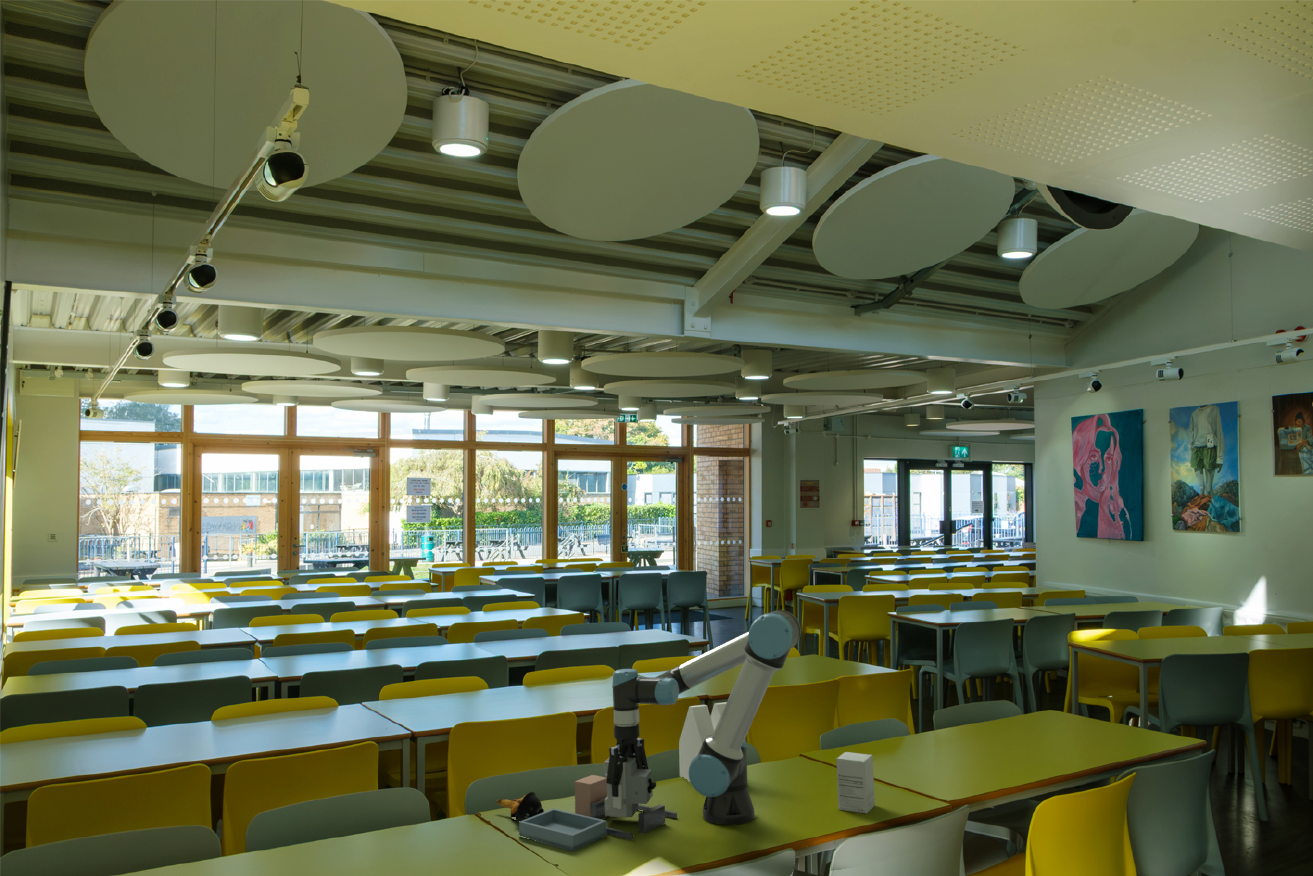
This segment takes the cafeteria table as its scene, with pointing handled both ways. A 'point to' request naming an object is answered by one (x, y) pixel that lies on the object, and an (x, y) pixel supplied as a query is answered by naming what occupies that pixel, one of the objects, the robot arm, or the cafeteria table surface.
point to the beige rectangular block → (589, 793)
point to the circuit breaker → (630, 789)
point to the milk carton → (696, 733)
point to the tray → (563, 829)
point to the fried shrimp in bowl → (523, 806)
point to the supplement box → (855, 782)
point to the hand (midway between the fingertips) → (628, 803)
